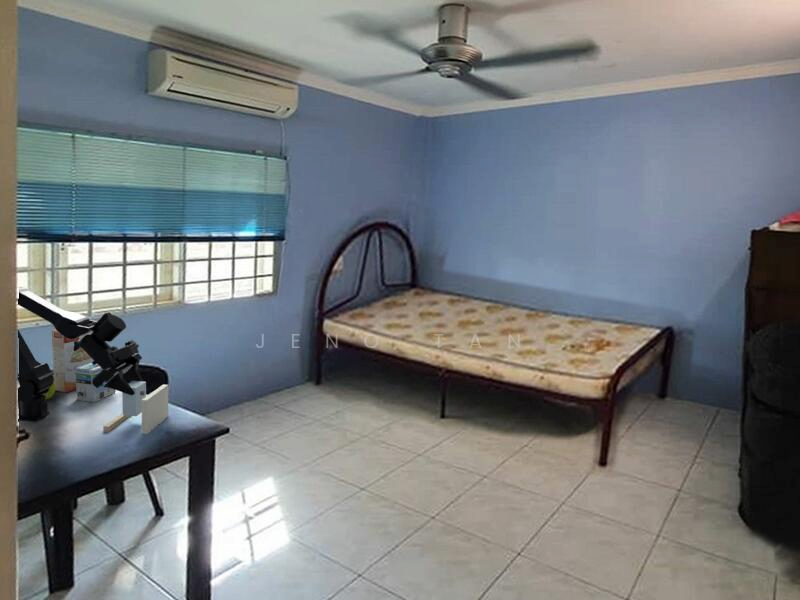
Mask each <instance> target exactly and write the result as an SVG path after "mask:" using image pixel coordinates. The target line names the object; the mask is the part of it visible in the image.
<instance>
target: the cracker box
mask: <svg viewBox="0 0 800 600" xmlns="http://www.w3.org/2000/svg"><path fill="white" fill-rule="evenodd" d="M92 333H93V331H91V332H89V333H87V334H85V335H91V334H92ZM85 335H83V336H80V337H77V338H74V339H68V338H66V337H64V336H63V335H62V334H60V333H59V332H58V331H57V330H56V329H52V330H51V338H52V339H51V340H52V341H51V345H52V348H51V349H52V372H53V373H54V375H53V377H54V381H53V382H54V384H55V392H56V391H57V392H60V393H68V392H69V393H70V392H71V391H75V390H76V391H77V389H76V368H78V367H81V366H83V365H86V364H89V363H92V362H93V361H94V360H93V359H92V358H91V357H90V356H89V355H88V354H87V353H86V352H85V351H84V350H83V349H79V350H77V351H74V350H73V349H74V342H75V341H77V340H81V339H82V338H83V337H84V336H85Z"/></svg>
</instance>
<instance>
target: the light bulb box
mask: <svg viewBox="0 0 800 600" xmlns="http://www.w3.org/2000/svg"><path fill="white" fill-rule="evenodd" d="M102 370H103V369H102V368H101V367H100V366H99V365H98V364H96V365H93V364H92V363H89V364H86V365H83V366H81V367H78V368H76V400H78V401H84V402H91V403H95V402H97V401H99V400H103V399H104V397H105V398H106V397H109V396H111V394H112V395H113V393H114V394H116V393H117V392H116V391H117V390H114V389H111V388H107V387H105V388H104V387H103V386H104V385H105V384H107V383H106V382H104V383H103V386H101V387H99V388H98V389H97V388H96V387H95V386H94V385H93V384H92V379H93V378H94V377H95V376H96V375H98V374H99V373H100V372H101V371H102ZM115 392H116V393H115Z"/></svg>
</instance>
